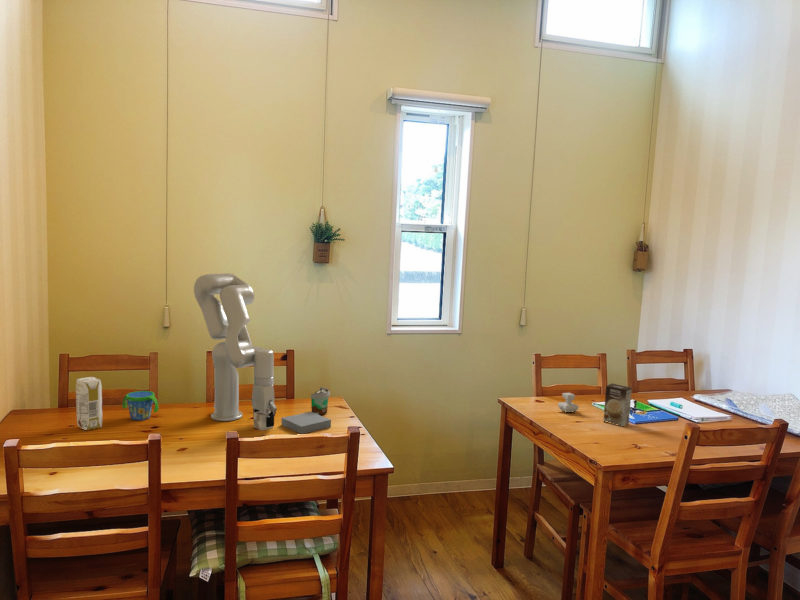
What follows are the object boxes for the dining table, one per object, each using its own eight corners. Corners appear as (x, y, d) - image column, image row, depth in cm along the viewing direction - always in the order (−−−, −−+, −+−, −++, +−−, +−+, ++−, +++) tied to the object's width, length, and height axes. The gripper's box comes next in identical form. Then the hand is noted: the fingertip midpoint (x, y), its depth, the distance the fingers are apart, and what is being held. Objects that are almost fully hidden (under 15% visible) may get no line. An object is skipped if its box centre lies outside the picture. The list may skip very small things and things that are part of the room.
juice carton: (83, 432, 223) (82, 382, 221) (75, 427, 229) (73, 378, 227) (104, 428, 228) (103, 379, 227) (95, 422, 234) (94, 375, 232)
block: (253, 427, 235) (253, 412, 235) (266, 424, 239) (266, 409, 238) (260, 430, 231) (261, 415, 231) (273, 427, 235) (273, 413, 234)
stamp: (563, 414, 265) (564, 396, 264) (555, 410, 271) (556, 392, 270) (580, 413, 267) (581, 395, 266) (572, 409, 274) (573, 391, 273)
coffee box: (602, 422, 255) (604, 385, 254) (608, 419, 260) (611, 383, 258) (623, 427, 249) (626, 389, 247) (629, 424, 254) (632, 387, 252)
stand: (281, 425, 238) (281, 417, 238) (310, 418, 248) (310, 411, 248) (301, 434, 228) (301, 426, 228) (330, 427, 238) (330, 419, 237)
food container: (324, 418, 249) (324, 395, 248) (310, 417, 250) (310, 393, 249) (333, 410, 261) (333, 387, 260) (320, 409, 262) (320, 386, 261)
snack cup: (165, 417, 244) (165, 393, 243) (145, 424, 234) (145, 399, 233) (135, 412, 249) (135, 388, 248) (115, 419, 239) (115, 394, 238)
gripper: (244, 378, 237) (244, 420, 239) (266, 386, 224) (266, 431, 226) (261, 375, 242) (260, 416, 244) (284, 384, 229) (283, 427, 231)
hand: (263, 423), depth 235 cm, fingers open, 9 cm apart
